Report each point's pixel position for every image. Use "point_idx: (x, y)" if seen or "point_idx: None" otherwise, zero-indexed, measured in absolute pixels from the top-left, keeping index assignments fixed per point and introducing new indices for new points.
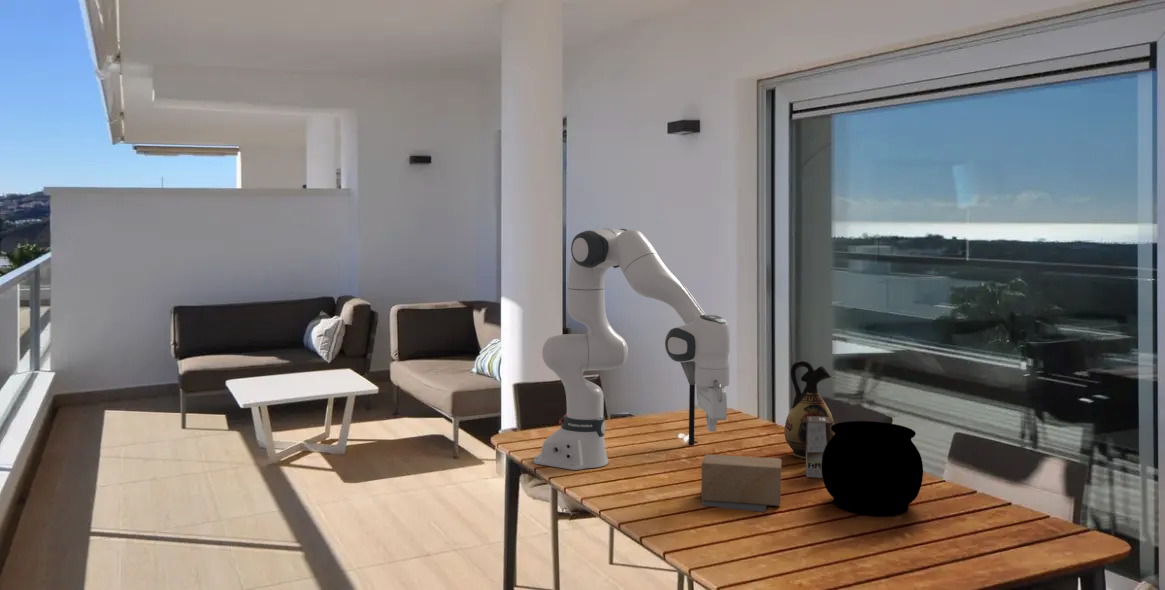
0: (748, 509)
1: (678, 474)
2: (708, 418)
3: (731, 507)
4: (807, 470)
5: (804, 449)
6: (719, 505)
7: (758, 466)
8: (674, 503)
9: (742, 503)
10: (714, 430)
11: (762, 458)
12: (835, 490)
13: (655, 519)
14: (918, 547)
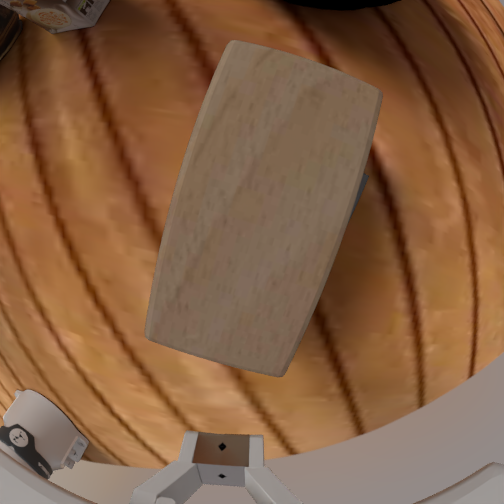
0: (352, 212)
1: (57, 307)
2: (180, 499)
3: None
4: (87, 19)
5: (4, 39)
6: None
7: (361, 168)
8: None
9: None
10: (263, 441)
11: (225, 107)
12: (377, 4)
13: (362, 401)
14: (489, 41)
